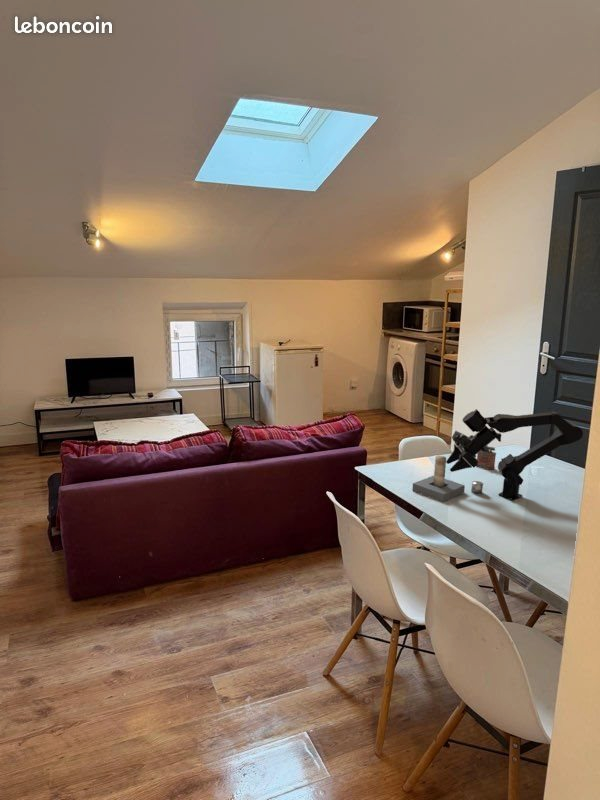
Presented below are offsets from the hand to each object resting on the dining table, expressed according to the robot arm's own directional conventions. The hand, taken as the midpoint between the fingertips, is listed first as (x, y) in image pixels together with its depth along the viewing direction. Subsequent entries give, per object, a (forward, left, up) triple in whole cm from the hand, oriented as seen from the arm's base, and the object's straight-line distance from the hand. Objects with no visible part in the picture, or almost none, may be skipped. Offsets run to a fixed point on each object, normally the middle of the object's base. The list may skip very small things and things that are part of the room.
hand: (448, 466), depth 201 cm
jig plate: (+2, -2, -10) cm, 11 cm away
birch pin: (+2, -2, -10) cm, 11 cm away
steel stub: (-9, +8, -10) cm, 16 cm away
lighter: (-38, -5, -11) cm, 40 cm away
